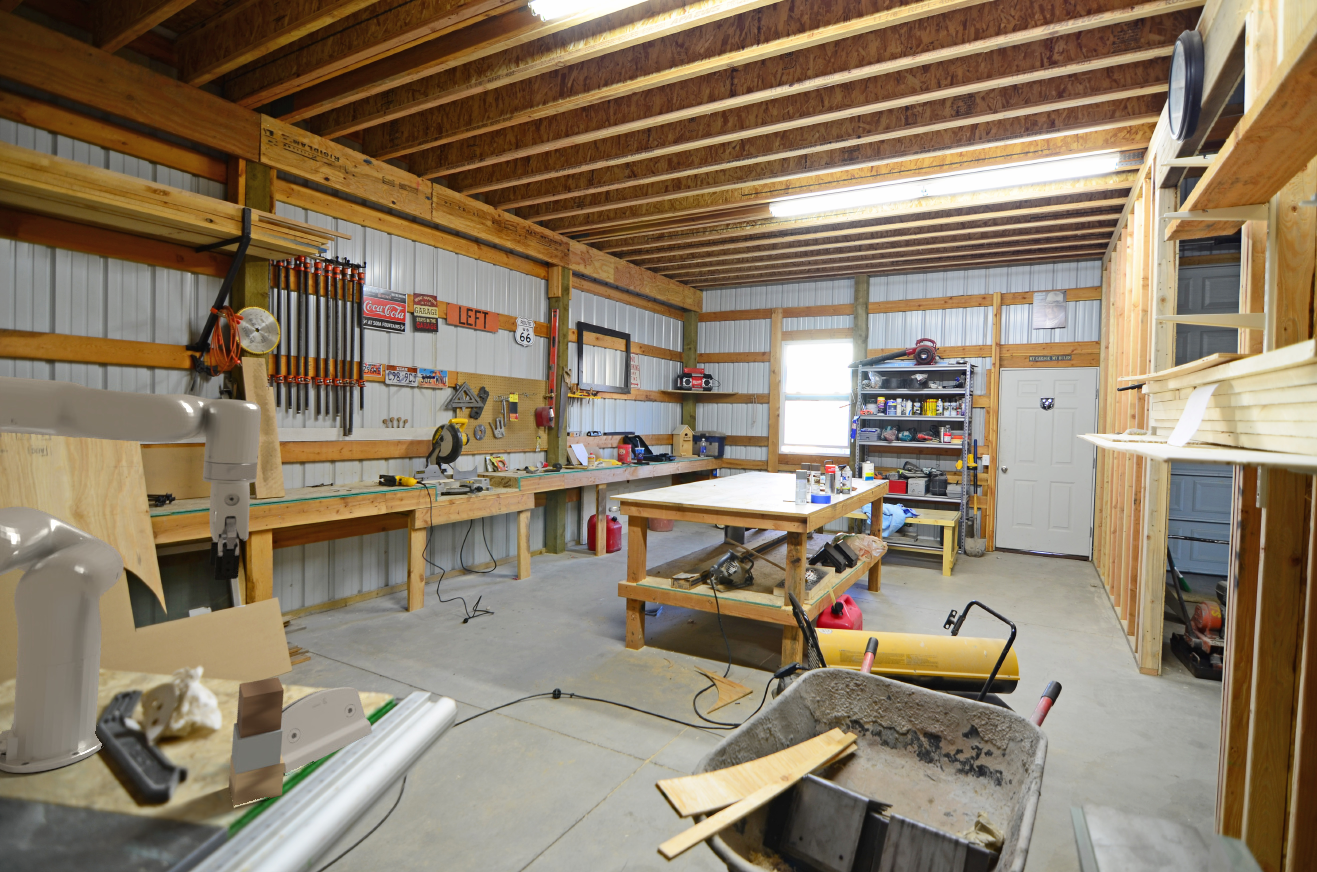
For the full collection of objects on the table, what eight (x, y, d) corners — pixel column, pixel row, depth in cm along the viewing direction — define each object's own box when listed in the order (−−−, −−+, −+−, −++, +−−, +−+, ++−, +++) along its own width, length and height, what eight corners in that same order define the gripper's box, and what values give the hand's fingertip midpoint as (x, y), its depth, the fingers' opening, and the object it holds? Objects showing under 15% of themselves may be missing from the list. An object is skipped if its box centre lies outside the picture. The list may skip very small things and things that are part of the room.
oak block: (233, 808, 89) (236, 774, 89) (228, 787, 94) (231, 754, 93) (281, 795, 93) (284, 762, 93) (274, 774, 97) (277, 743, 97)
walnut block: (240, 738, 89) (243, 697, 89) (236, 722, 93) (239, 683, 93) (280, 729, 92) (283, 689, 92) (275, 714, 96) (278, 677, 96)
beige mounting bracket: (284, 776, 97) (274, 711, 98) (265, 777, 99) (256, 713, 100) (373, 731, 112) (364, 675, 113) (356, 732, 114) (347, 677, 115)
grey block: (235, 774, 89) (238, 740, 89) (231, 755, 93) (233, 723, 93) (280, 763, 92) (282, 730, 92) (274, 745, 97) (276, 714, 96)
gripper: (263, 479, 101) (256, 582, 102) (250, 466, 114) (243, 557, 115) (207, 479, 96) (199, 587, 97) (200, 465, 110) (193, 561, 110)
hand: (223, 571), depth 106 cm, fingers open, 9 cm apart
